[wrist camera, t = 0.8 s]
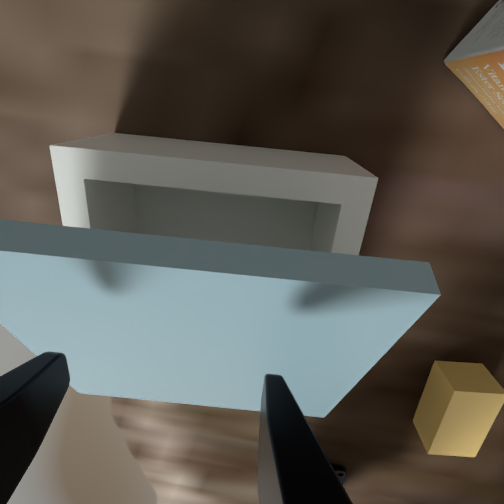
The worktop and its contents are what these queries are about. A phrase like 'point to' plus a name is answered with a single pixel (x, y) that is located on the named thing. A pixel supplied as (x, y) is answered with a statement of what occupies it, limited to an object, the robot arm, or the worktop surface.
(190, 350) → the lid
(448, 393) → the tan rectangular prism
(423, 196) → the worktop surface
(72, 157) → the storage box
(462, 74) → the small box
